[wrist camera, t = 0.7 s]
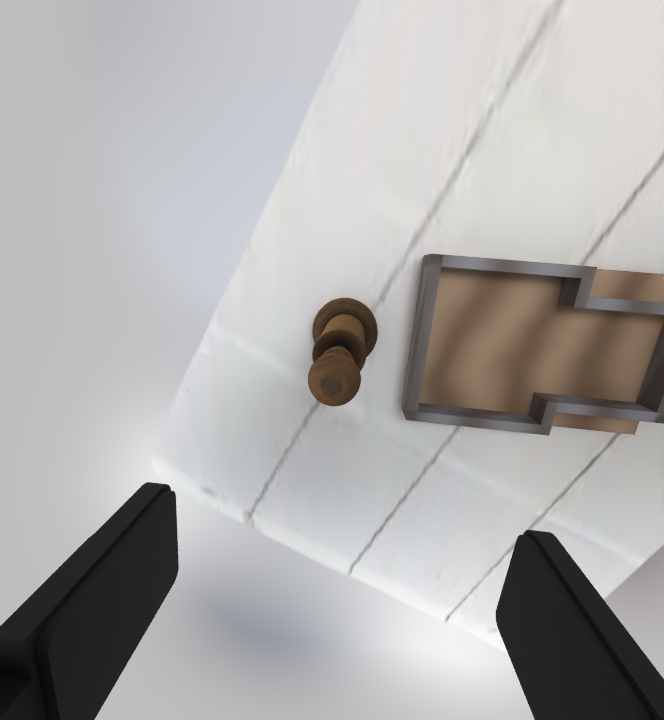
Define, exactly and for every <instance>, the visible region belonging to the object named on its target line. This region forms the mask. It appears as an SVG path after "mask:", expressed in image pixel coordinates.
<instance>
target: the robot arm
mask: <svg viewBox="0 0 664 720" xmlns="http://www.w3.org/2000/svg"><path fill="white" fill-rule="evenodd" d="M177 542H178V541H177V516H176V495H175V492H174V491H171V489H170V486H169V485H167V484H159V483H150V482H147V483H145V484H144V485H142V486H141V488H139V489H138V490H137V491H136V493H134V494H133V496H132V497H131V498H129V499H128V501H126V503H124V505H123V506H122V507H121V508H120V509H119V510H118V511H117V512H116V513H115V514H114V515H113V516H112V517H111V518H110V519H109V520H108V521H107V522H106V523H105V524H104V525H103V526H102V527H101V528H100V529H99V530H98V531H97V532H96V533H95V534H93V535H92V536H91V537H90V538H88V539H87V540H86V541H85V542H84V543H83V544H82V545H81V546H80V547H79V548H78V550H77V551H75V552H74V553H73V554H72V555H71V556H70V557H69V558H68V559H67V560H66V561H65V562H64V563H63V564H62V565H61V566H60V567H59V568H58V569H57V570H56V571H55V572H54V573H53V574H52V575H51V576H50V577H49V578H48V579H47V580H46V581H45V582H44V583H43V584H42V585H41V586H40V587H39V588H38V589H37V590H36V591H35V592H34V593H33V594H32V595H31V596H30V597H29V598H28V599H27V600H26V601H25V602H24V603H23V604H22V605H21V606H20V607H19V608H18V609H17V610H16V611H15V612H14V613H13V614H12V615H11V616H10V617H9V618H8V619H7V620H6V621H5V622H4V623H3V624H2V625H1V626H0V720H94V719H95V718H96V716H97V714H98V712H99V711H100V709H101V707H102V706H103V704H104V702H105V700H106V699H107V697H108V695H109V694H110V692H111V690H112V688H113V687H114V685H115V683H116V682H117V680H118V678H119V676H120V674H121V673H122V671H123V670H124V668H125V666H126V664H127V662H128V661H129V659H130V658H131V656H132V654H133V652H134V651H135V649H136V647H137V646H138V644H139V642H140V640H141V639H142V637H143V635H144V633H145V632H146V630H147V628H148V627H149V625H150V623H151V622H152V620H153V618H154V616H155V614H156V613H157V611H158V609H159V608H160V606H161V604H162V603H163V601H164V599H165V597H166V596H167V594H168V592H169V591H170V589H171V587H172V585H173V584H174V582H175V580H176V577H177V573H178V543H177ZM496 622H497V626H498V629H499V632H500V634H501V637H502V639H503V642H504V644H505V647H506V649H507V652H508V654H509V657H510V659H511V662H512V664H513V667H514V669H515V672H516V674H517V676H518V679H519V681H520V684H521V686H522V689H523V691H524V694H525V696H526V699H527V701H528V704H529V706H530V709H531V711H532V714H533V716H534V719H535V720H664V679H663V678H662V676H661V675H660V674H659V672H658V671H657V670H656V668H655V667H654V666H653V664H652V663H651V662H650V660H649V659H648V658H647V656H646V655H645V654H644V653H643V651H642V650H641V649H640V647H639V646H638V645H637V643H636V642H635V641H634V639H633V638H632V637H631V635H630V634H629V633H628V631H627V630H626V629H625V627H624V626H623V625H622V624H621V622H620V621H619V620H618V618H617V617H616V616H615V614H614V613H613V612H612V610H611V609H610V608H609V607H608V605H607V604H606V602H605V601H604V600H603V598H602V597H601V596H600V594H599V593H598V592H597V591H596V589H595V588H594V587H593V585H592V584H591V583H590V581H589V580H588V579H587V577H586V576H585V575H584V573H583V572H582V571H581V569H580V568H579V567H578V565H577V564H576V563H575V562H574V560H573V559H572V558H571V556H570V555H569V554H568V552H567V551H566V550H565V548H564V547H563V546H562V544H561V543H560V542H559V540H558V539H557V538H556V537H555V536H554V535H553V534H552V533H550V532H542V531H534V530H526V531H525V532H524V534H523V535H519V536H518V538H517V541H516V544H515V548H514V551H513V555H512V558H511V561H510V565H509V568H508V572H507V575H506V578H505V582H504V585H503V589H502V592H501V596H500V599H499V602H498V606H497V609H496Z"/></svg>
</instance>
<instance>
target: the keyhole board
mask: <svg viewBox="0 0 664 720" xmlns="http://www.w3.org/2000/svg"><path fill="white" fill-rule="evenodd" d="M402 409H403V412H404V415H405V418H406V420H412V421H421V422H430V423H439V424H448V425H458V426H467V427H476V428H485V429H495V430H504V431H513V432H522V433H531V434H541V435H549V434H550V430H551V427H552V426H559V427H568V428H578V429H587V430H597V431H606V432H615V433H625V434H634V435H635V432H636V429H637V426H638V424H639V421H645V422H655V423H664V274H653V273H641V272H628V271H616V270H604V269H597V267H589V266H576V265H564V264H552V263H539V262H527V261H514V260H502V259H490V258H477V257H465V256H452V255H440V254H429V255H425V256H424V260H423V267H422V274H421V280H420V287H419V294H418V300H417V307H416V314H415V320H414V327H413V334H412V341H411V347H410V354H409V361H408V367H407V374H406V381H405V387H404V394H403V401H402Z"/></svg>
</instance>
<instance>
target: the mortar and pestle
mask: <svg viewBox="0 0 664 720" xmlns="http://www.w3.org/2000/svg"><path fill="white" fill-rule="evenodd" d="M377 334H378V331H377V324H376V320H375V318H374V316H373V314H372V312H371V311H370V310H369V308H368V307H367V306H365V305H364V304H363V303H361V302H359V301H357V300H354V299H350V298H339V299H335V300H333V301H330V302H329V303H327V304H326V305H325V306H324V307H323V308H322V309H321V310H320V311H319V313H318V314H317V316H316V318H315V320H314V324H313V339H314V342H315V345H314V348H313V353H312V356H313V362H314V363H313V365H312V366H311V368H310V371H309V375H308V384H309V388H310V391H311V393H312V394H313V396H314V397H315V398H316V399H317V400H318V401H320V402H321V403H323V404H325V405H329V406H340V405H343V404H346V403H348V402H349V401H350V400H352V399H353V398H354V397H355V395H356V394H357V392H358V390H359V387H360V382H361V376H360V371H361V369H362V368H363V366H364V364H365V360H366V357H367V356H368V355H369V354H370V353H371V351H372V350H373V348H374V346H375V344H376V341H377Z"/></svg>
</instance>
